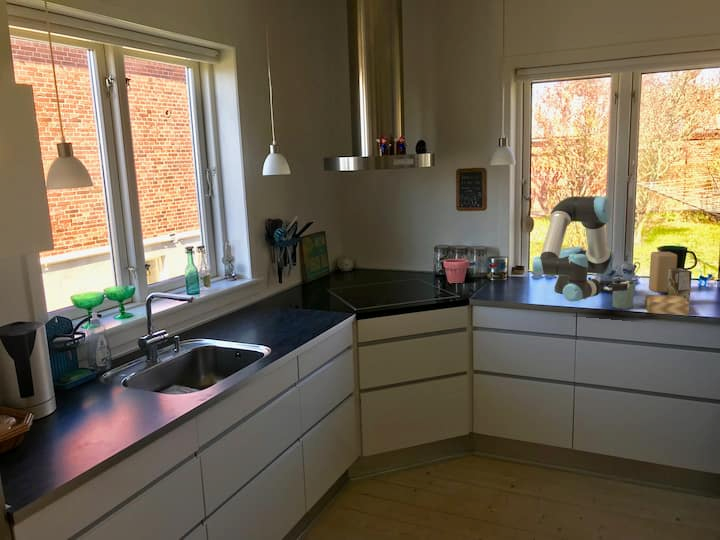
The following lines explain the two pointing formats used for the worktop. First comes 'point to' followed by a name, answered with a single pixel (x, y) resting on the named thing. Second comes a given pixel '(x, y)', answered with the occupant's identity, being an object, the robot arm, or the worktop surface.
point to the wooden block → (661, 270)
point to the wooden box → (666, 304)
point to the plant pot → (455, 270)
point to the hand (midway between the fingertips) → (613, 282)
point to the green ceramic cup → (624, 295)
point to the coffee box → (679, 283)
